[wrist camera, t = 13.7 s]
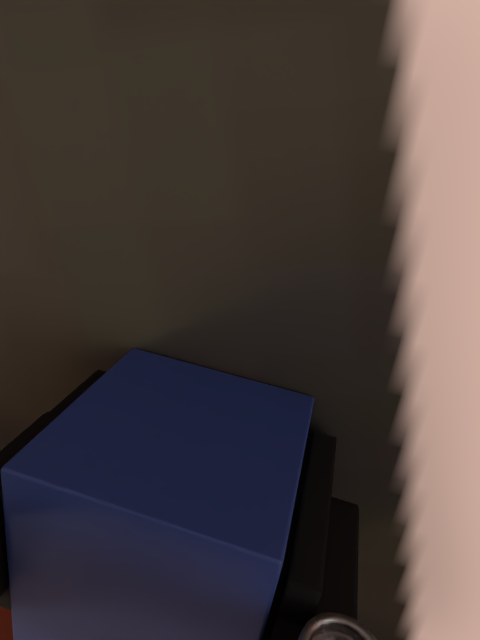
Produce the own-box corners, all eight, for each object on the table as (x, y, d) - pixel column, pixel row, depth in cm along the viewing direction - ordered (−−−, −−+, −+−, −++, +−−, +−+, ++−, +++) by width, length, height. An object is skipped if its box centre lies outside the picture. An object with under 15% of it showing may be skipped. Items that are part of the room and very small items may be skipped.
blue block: (132, 346, 11) (-2, 468, 7) (315, 396, 10) (282, 564, 6) (122, 485, 13) (12, 646, 9) (277, 536, 12) (234, 737, 8)
